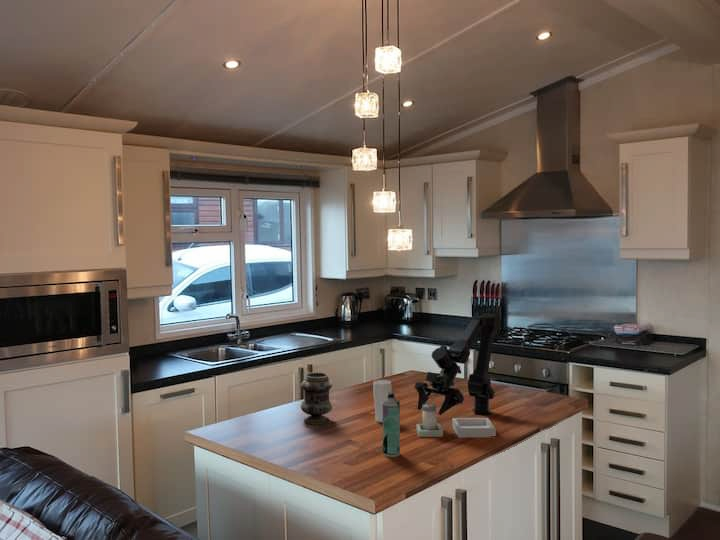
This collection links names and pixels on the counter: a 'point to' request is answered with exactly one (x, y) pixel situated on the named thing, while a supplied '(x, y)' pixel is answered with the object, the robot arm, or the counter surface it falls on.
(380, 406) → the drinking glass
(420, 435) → the holder ring
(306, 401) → the apothecary jar
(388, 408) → the spray can
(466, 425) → the parts tray
